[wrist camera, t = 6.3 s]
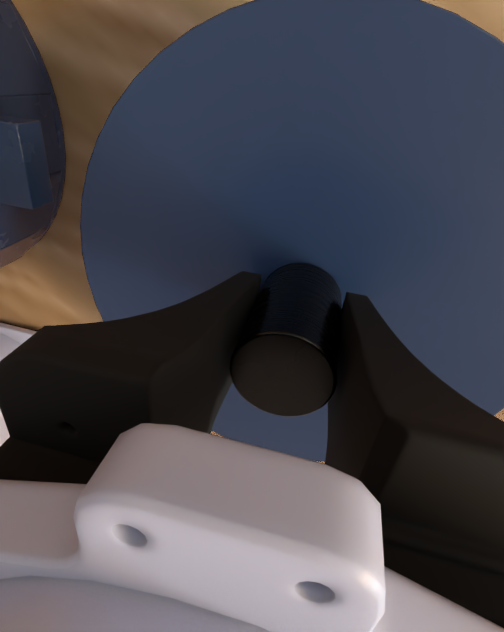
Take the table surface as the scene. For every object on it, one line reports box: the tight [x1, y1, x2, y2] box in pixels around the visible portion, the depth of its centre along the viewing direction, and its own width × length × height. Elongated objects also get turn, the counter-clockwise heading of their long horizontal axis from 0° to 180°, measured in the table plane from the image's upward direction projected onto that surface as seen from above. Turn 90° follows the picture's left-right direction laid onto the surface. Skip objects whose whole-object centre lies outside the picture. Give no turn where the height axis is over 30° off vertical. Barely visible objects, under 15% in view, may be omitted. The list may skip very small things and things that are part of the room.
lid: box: [80, 0, 504, 461], centre depth 11 cm, size 16×16×5 cm
